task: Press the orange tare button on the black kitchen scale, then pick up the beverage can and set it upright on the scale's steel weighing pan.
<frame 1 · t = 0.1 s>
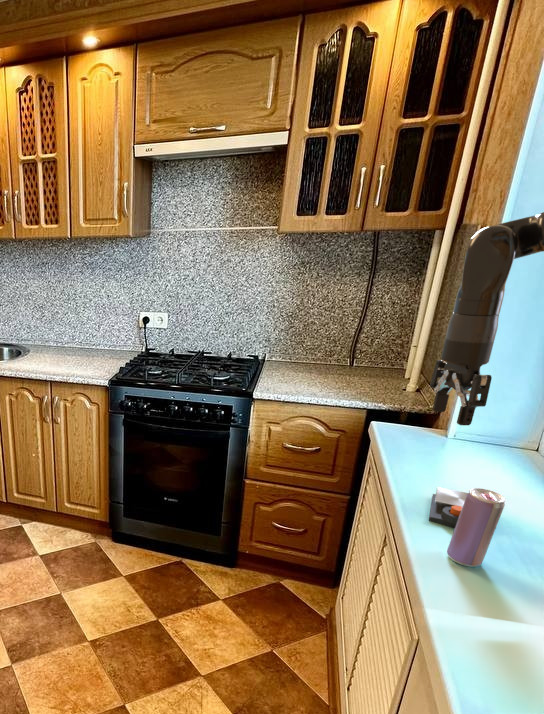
hand: (450, 417, 106), 28 cm above the worktop, tool pointing down, fingers open, 8 cm apart
scale pan: (458, 499, 125), resting on scale
beverage can: (463, 560, 108), on the worktop
scale: (455, 515, 124), on the worktop
tare button: (458, 511, 119), point 3 cm above the worktop, slide at 0.1 cm
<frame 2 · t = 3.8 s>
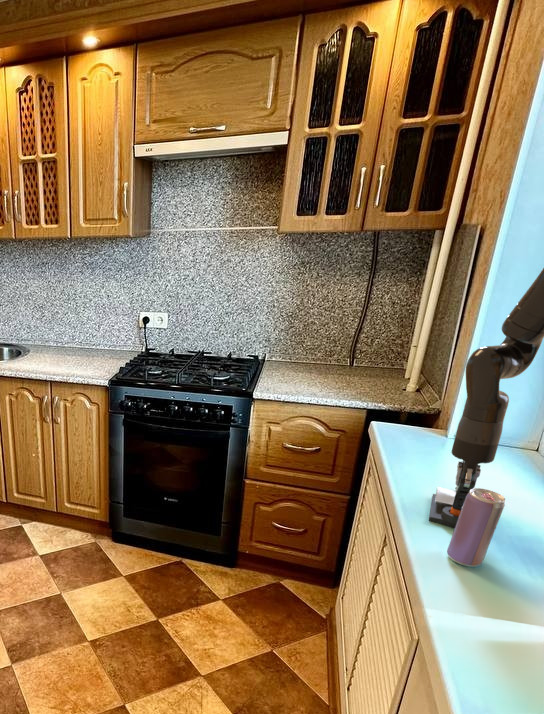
hand: (458, 508, 119), 4 cm above the worktop, tool pointing down, fingers closed
tare button: (458, 511, 119), point 3 cm above the worktop, slide at 0.1 cm, touching gripper
everything else where it was.
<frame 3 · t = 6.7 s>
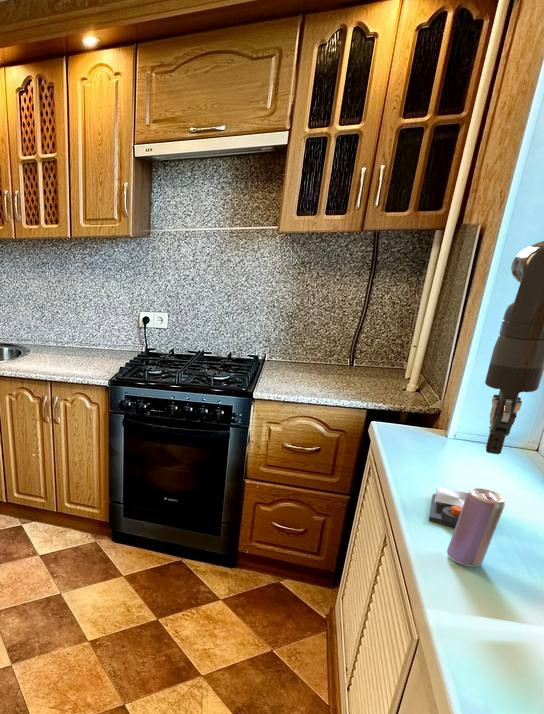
hand: (492, 451, 99), 24 cm above the worktop, tool pointing down, fingers closed
tare button: (458, 511, 119), point 3 cm above the worktop, slide at 0.1 cm
everything else where it was.
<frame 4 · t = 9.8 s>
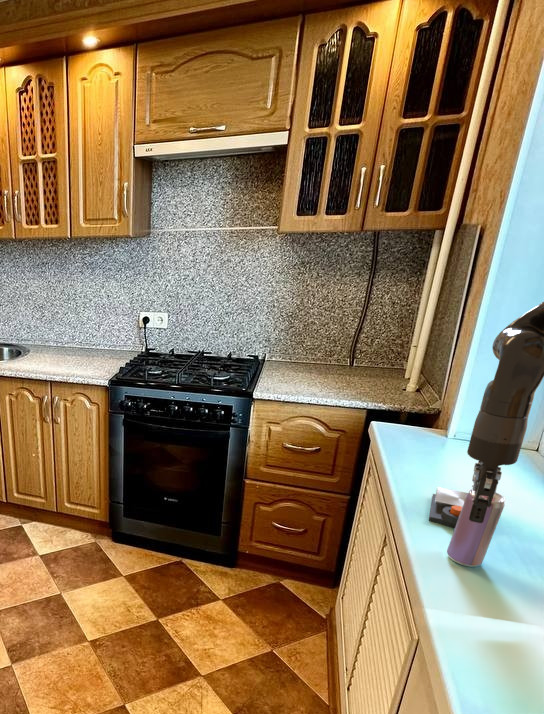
hand: (475, 514, 104), 11 cm above the worktop, tool pointing down, fingers closed on beverage can, 6 cm apart
beverage can: (463, 560, 108), on the worktop, touching gripper
everything else where it was.
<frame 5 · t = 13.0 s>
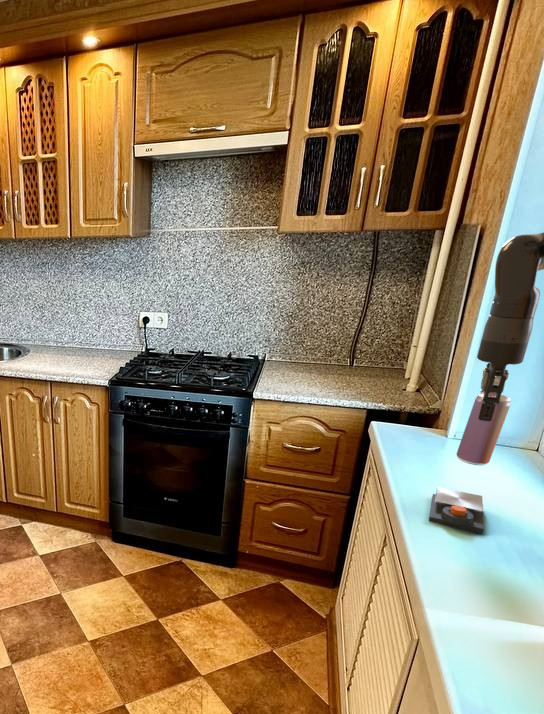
hand: (483, 415, 113), 26 cm above the worktop, tool pointing down, fingers closed on beverage can, 6 cm apart
beverage can: (471, 461, 117), point 15 cm above the worktop, touching gripper
everything else where it was.
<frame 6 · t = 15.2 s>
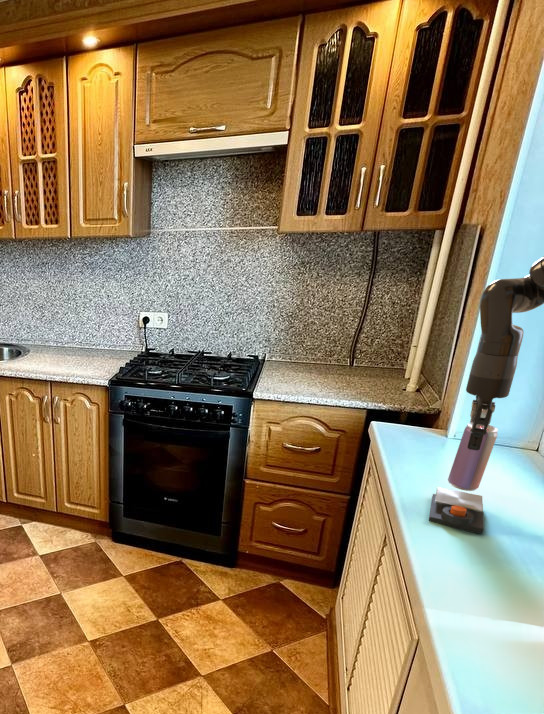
hand: (473, 444, 120), 17 cm above the worktop, tool pointing down, fingers closed on beverage can, 6 cm apart
beverage can: (461, 486, 124), point 7 cm above the worktop, touching gripper
everything else where it was.
when the fingers open (14 cm above the worktop, at t = 16.6 s): beverage can stays where it is, resting on scale pan.
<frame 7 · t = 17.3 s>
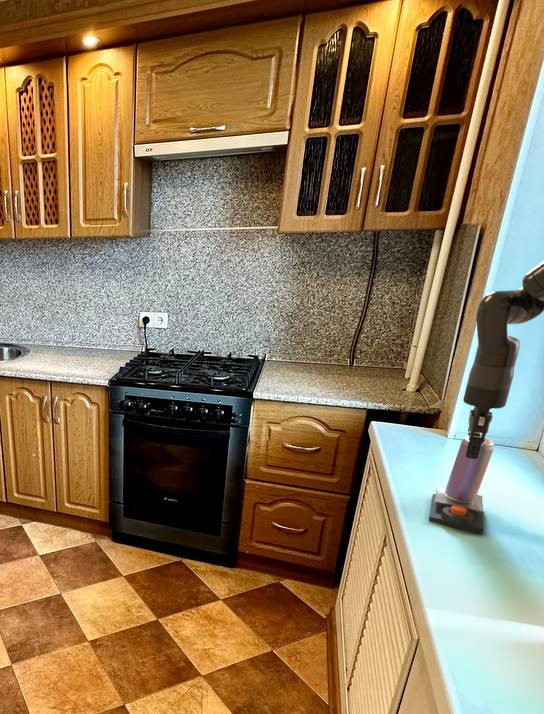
hand: (471, 451, 121), 15 cm above the worktop, tool pointing down, fingers open, 8 cm apart
beverage can: (458, 498, 125), point 3 cm above the worktop, touching scale pan
everything else where it was.
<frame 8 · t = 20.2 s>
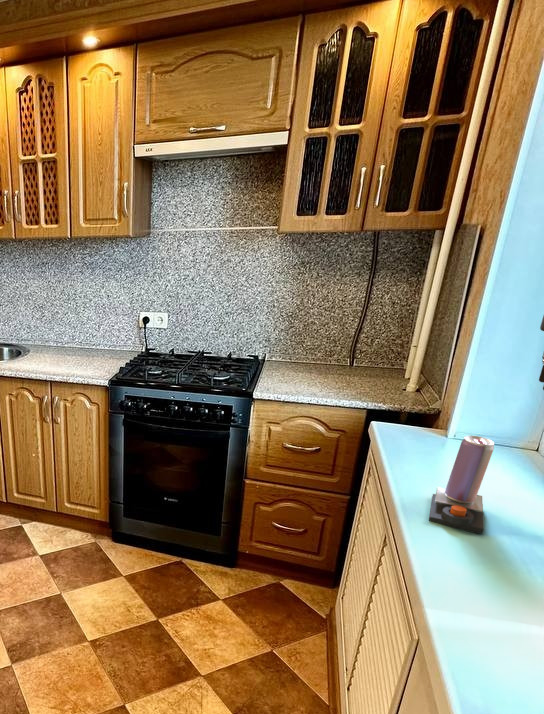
nothing on the worktop moved.
at the end: tare button pushed in 1.0 cm at the most during the clip, back to where it started at the end; beverage can 0.1 cm off-centre on the scale pan, point 0.4 cm above the scale pan's base; beverage can tilted 4° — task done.
